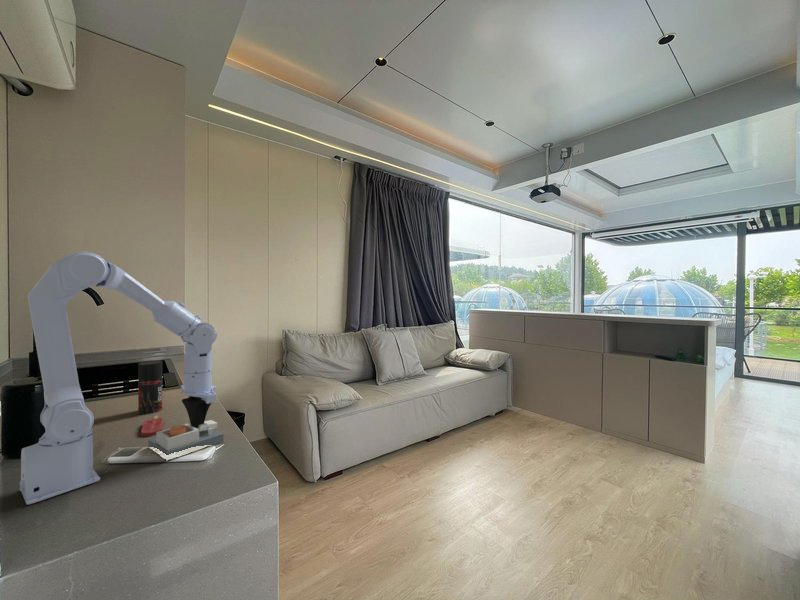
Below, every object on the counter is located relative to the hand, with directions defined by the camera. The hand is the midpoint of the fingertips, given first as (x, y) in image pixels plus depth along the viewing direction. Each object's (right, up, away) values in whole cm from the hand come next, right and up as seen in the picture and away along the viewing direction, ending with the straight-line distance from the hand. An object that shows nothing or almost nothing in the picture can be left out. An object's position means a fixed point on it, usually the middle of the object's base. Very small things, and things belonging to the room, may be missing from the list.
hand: (197, 426), depth 80 cm
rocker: (+1, 0, +2) cm, 2 cm away
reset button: (-2, -2, -4) cm, 5 cm away
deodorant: (-28, -4, +22) cm, 36 cm away
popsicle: (-18, -4, +10) cm, 21 cm away
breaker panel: (-2, -4, -1) cm, 4 cm away
